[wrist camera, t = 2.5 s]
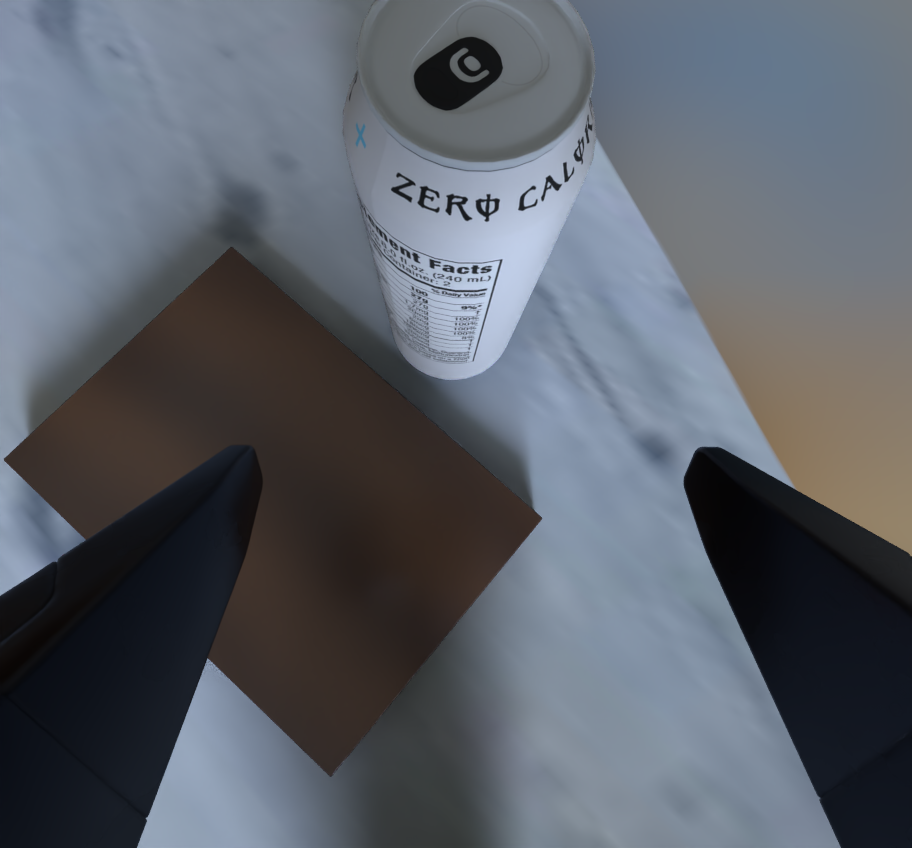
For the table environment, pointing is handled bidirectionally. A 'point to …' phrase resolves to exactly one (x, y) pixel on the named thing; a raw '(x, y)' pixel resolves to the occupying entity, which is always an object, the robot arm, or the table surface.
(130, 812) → the robot arm
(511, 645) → the table surface
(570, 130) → the energy drink can
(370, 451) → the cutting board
